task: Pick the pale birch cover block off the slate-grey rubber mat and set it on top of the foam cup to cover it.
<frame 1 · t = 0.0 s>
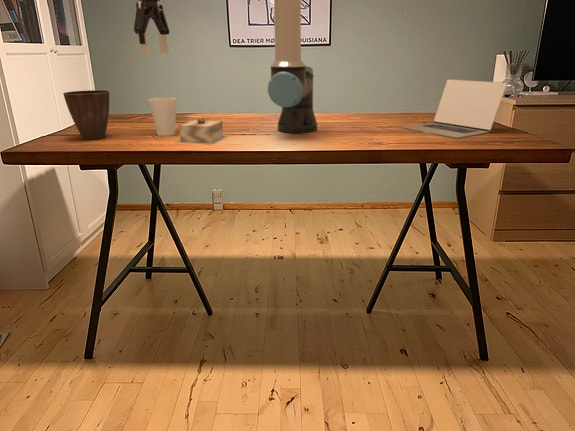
hand: (155, 54, 164), 28 cm above the table, tool pointing down, fingers open, 13 cm apart
plant pot: (93, 138, 165), on the table
laptop: (449, 131, 171), on the table
mat: (202, 140, 159), on the table
lid: (202, 139, 158), resting on mat
foam cup: (166, 135, 168), on the table
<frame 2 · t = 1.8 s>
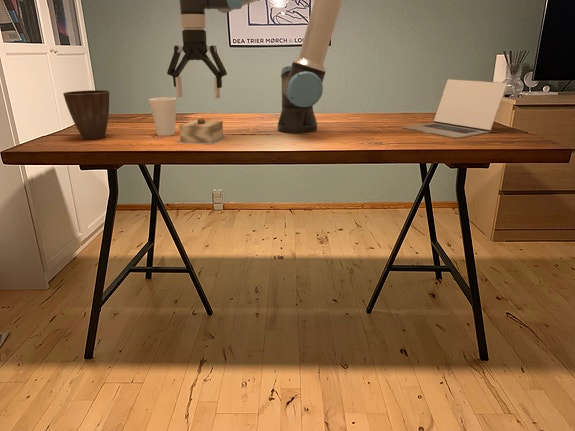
hand: (198, 97, 154), 14 cm above the table, tool pointing down, fingers open, 13 cm apart
nothing on the table moved.
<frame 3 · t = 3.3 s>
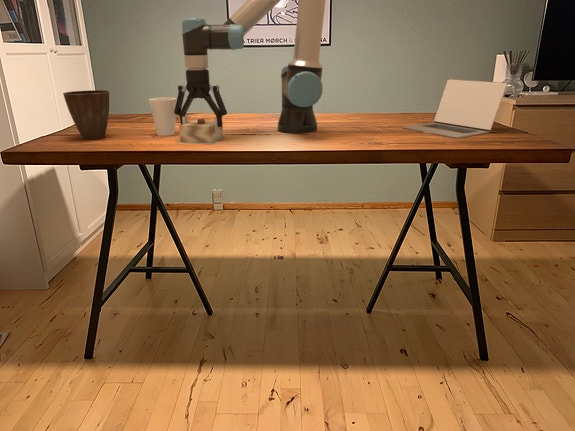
hand: (202, 135, 158), 1 cm above the table, tool pointing down, fingers closed on lid, 11 cm apart
lid: (202, 139, 158), resting on mat, touching gripper
everything else where it was.
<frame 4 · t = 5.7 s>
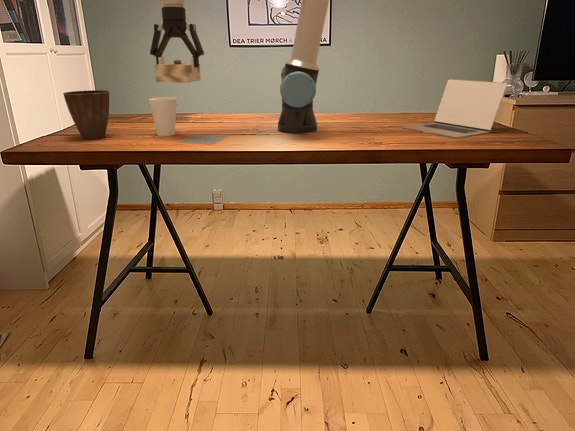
hand: (178, 77, 155), 21 cm above the table, tool pointing down, fingers closed on lid, 11 cm apart
lid: (179, 81, 156), point 19 cm above the table, touching gripper
everything else where it was.
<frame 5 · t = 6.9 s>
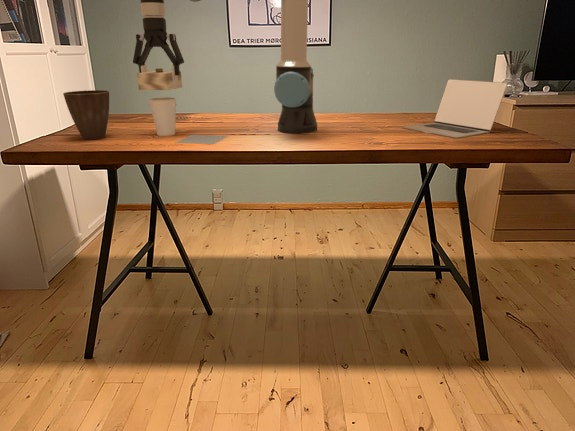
hand: (160, 85, 162), 18 cm above the table, tool pointing down, fingers closed on lid, 11 cm apart
lid: (161, 88, 162), point 17 cm above the table, touching gripper
everything else where it was.
when the fingers open (15 cm above the table, at t = 8.0 s): lid drops 1 cm, resting on foam cup.
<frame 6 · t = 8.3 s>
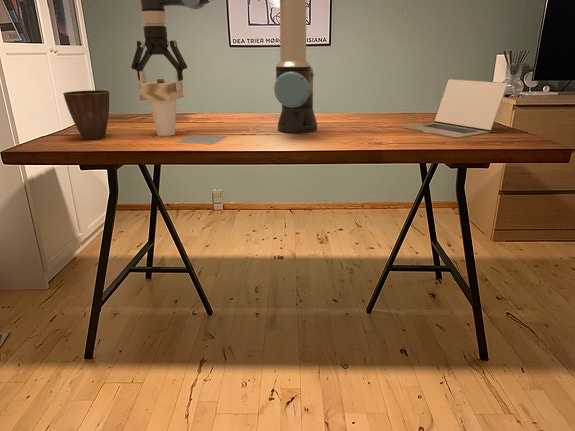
hand: (161, 90, 162), 16 cm above the table, tool pointing down, fingers open, 13 cm apart
lid: (162, 98, 163), point 13 cm above the table, touching foam cup
foam cup: (166, 135, 168), on the table, touching lid
everything else where it was.
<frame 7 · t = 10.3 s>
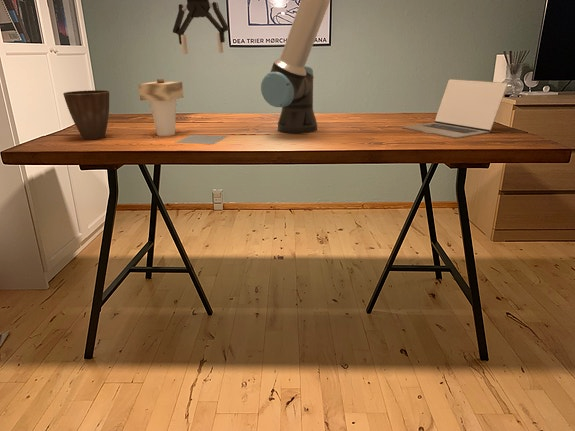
hand: (203, 53, 165), 28 cm above the table, tool pointing down, fingers open, 13 cm apart
nothing on the table moved.
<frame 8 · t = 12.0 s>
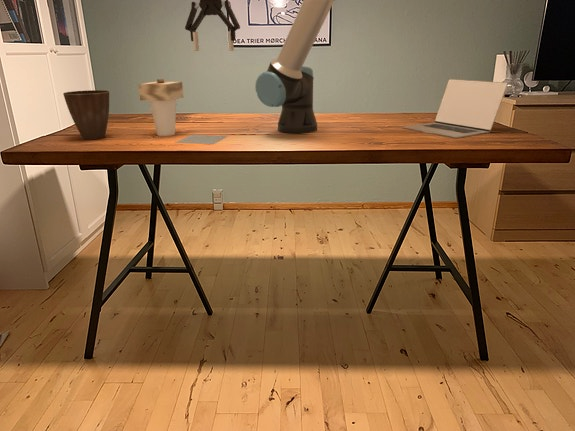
hand: (213, 51, 167), 29 cm above the table, tool pointing down, fingers open, 13 cm apart
nothing on the table moved.
at the end: lid 0.0 cm off-centre on the foam cup, point 13.2 cm above the foam cup's base; foam cup tilted 0°; the gripper is holding nothing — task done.
